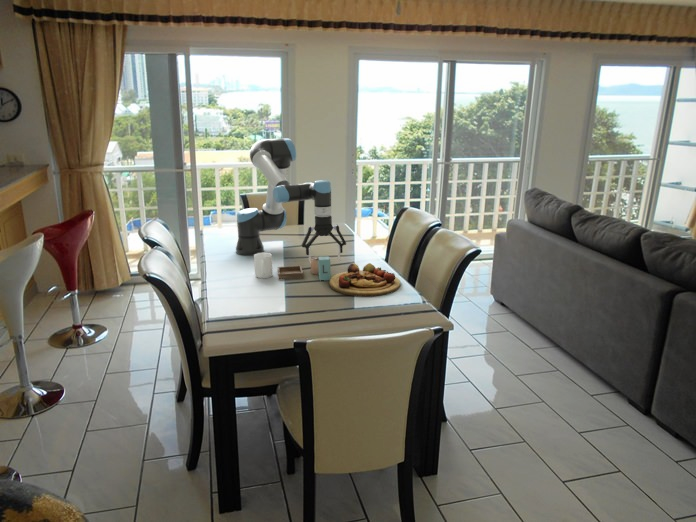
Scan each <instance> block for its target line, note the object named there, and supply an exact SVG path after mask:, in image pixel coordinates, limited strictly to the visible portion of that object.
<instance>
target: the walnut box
mask: <svg viewBox="0 0 696 522" xmlns="http://www.w3.org/2000/svg"><path fill="white" fill-rule="evenodd" d="M277 276H278V278H277V279H278V280H292V279H304V271H303V269H302V265H293V266H291V265H290V266H277Z"/></svg>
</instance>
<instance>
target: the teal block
mask: <svg viewBox="0 0 696 522" xmlns="http://www.w3.org/2000/svg"><path fill="white" fill-rule="evenodd" d="M318 267H319V275H318V279H319V281H321V280H324V281H330V279H331V278H332V277H331V276H332V274H331V258H330V256H327V255H326V256H321V257H318ZM321 282H322V281H321Z"/></svg>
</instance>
